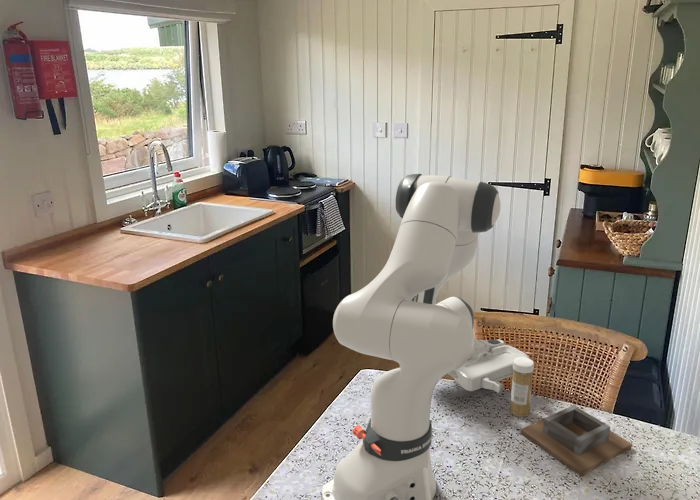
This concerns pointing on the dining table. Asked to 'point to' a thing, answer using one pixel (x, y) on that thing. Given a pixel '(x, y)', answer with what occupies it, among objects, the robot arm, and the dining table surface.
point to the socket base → (576, 439)
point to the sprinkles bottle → (521, 386)
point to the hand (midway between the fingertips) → (516, 383)
